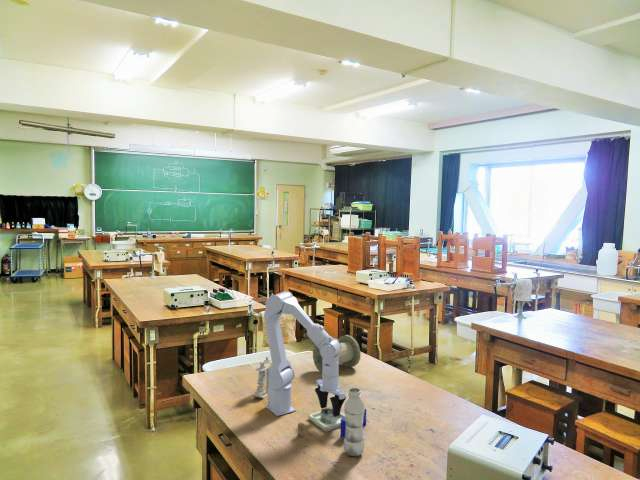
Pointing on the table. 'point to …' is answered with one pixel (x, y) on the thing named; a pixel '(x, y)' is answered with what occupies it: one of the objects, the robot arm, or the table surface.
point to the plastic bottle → (354, 423)
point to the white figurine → (262, 379)
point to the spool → (341, 353)
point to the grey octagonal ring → (328, 416)
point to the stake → (300, 429)
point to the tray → (326, 427)
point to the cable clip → (343, 425)
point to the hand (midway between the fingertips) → (329, 411)
